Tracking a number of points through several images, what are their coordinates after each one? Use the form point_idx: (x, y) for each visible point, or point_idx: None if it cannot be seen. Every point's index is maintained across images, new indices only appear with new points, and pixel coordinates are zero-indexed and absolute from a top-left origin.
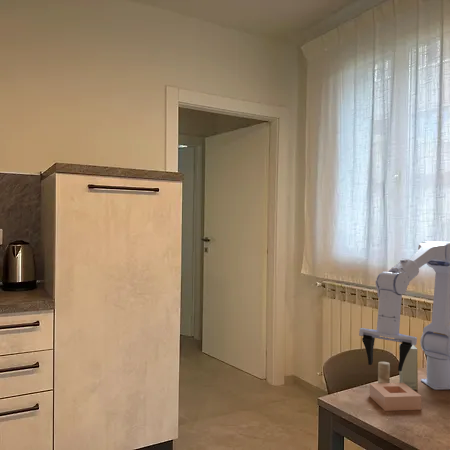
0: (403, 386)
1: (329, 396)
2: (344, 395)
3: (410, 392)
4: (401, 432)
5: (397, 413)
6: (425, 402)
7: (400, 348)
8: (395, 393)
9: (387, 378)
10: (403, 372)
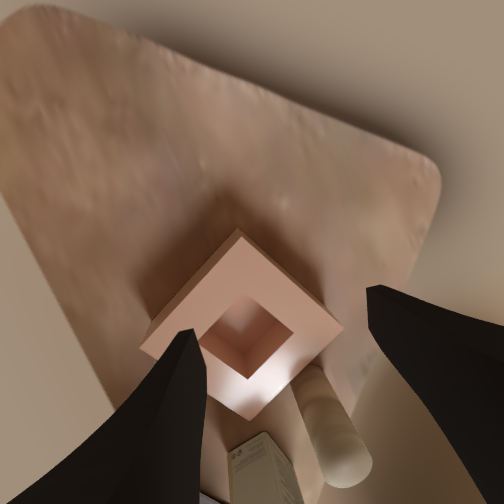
0: (233, 388)
1: (430, 208)
2: (392, 252)
3: None
4: (112, 83)
5: (196, 236)
6: None
7: (117, 477)
8: (226, 301)
9: (306, 409)
10: (275, 486)
